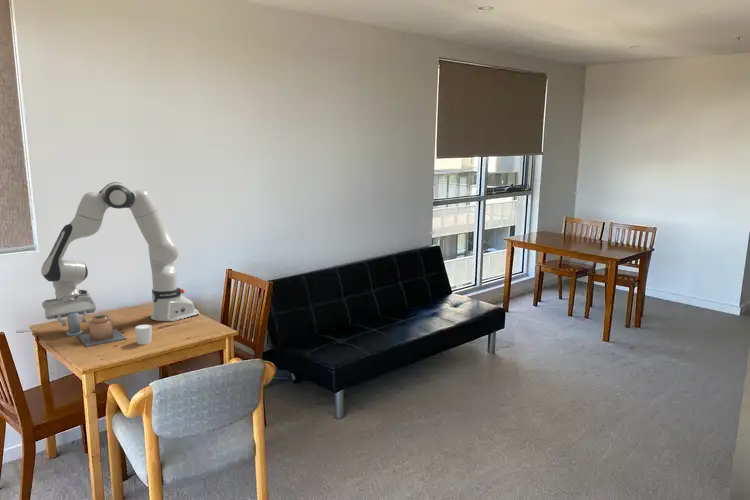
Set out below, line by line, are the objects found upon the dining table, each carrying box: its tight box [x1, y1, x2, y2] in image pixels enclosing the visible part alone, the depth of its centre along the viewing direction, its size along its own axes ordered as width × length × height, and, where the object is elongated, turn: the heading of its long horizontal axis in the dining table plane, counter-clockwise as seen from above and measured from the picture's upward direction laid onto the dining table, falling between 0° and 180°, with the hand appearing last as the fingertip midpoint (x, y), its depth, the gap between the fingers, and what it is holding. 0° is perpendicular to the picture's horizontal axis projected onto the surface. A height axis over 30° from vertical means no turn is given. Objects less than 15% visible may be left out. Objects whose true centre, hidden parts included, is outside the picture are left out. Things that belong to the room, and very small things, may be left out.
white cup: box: [134, 324, 153, 346], centre depth 243 cm, size 7×7×7 cm
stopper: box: [65, 313, 84, 337], centre depth 252 cm, size 6×6×9 cm
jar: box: [76, 314, 127, 348], centre depth 247 cm, size 16×16×10 cm
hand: (74, 323), depth 251 cm, fingers open, 7 cm apart
